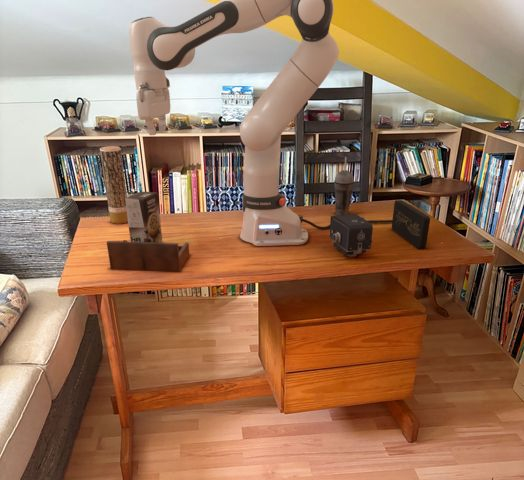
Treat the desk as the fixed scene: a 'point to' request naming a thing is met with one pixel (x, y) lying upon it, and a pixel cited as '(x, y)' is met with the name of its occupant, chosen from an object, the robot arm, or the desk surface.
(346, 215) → the camera
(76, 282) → the desk surface
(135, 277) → the desk surface
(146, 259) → the dark brown wooden box
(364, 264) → the desk surface
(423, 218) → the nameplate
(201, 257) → the desk surface
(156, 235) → the coffee box
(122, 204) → the wooden log
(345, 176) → the beverage cup
